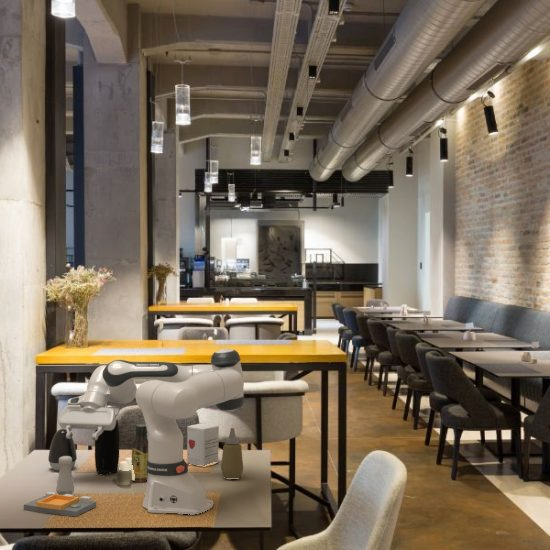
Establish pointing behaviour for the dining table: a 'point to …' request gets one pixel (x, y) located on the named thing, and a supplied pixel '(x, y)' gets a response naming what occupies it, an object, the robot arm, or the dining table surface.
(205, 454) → the supplement box
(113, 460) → the portable speaker
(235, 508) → the dining table surface
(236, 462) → the squeeze bottle
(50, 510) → the panel
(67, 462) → the salt shaker
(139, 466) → the sauce bottle
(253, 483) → the dining table surface
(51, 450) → the black rounded piece
